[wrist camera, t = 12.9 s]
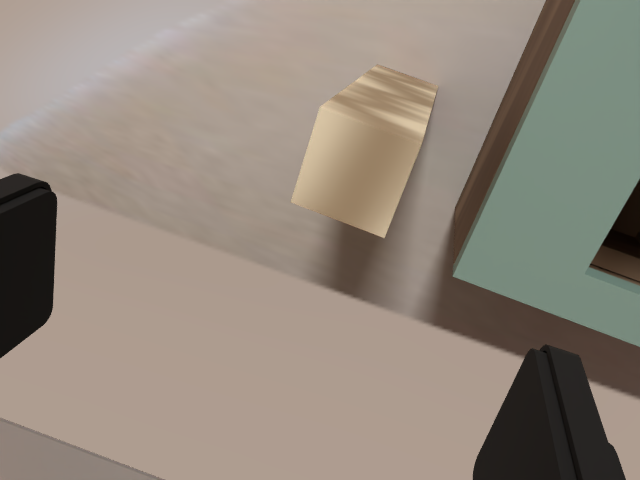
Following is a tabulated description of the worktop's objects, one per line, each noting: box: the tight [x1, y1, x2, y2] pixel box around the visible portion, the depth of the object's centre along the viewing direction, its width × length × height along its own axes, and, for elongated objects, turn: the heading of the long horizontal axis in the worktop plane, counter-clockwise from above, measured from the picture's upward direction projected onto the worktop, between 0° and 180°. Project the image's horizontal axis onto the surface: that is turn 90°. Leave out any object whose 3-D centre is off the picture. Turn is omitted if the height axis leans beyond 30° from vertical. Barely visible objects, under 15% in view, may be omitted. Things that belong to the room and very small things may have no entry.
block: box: [291, 65, 438, 238], centre depth 29 cm, size 4×4×16 cm
